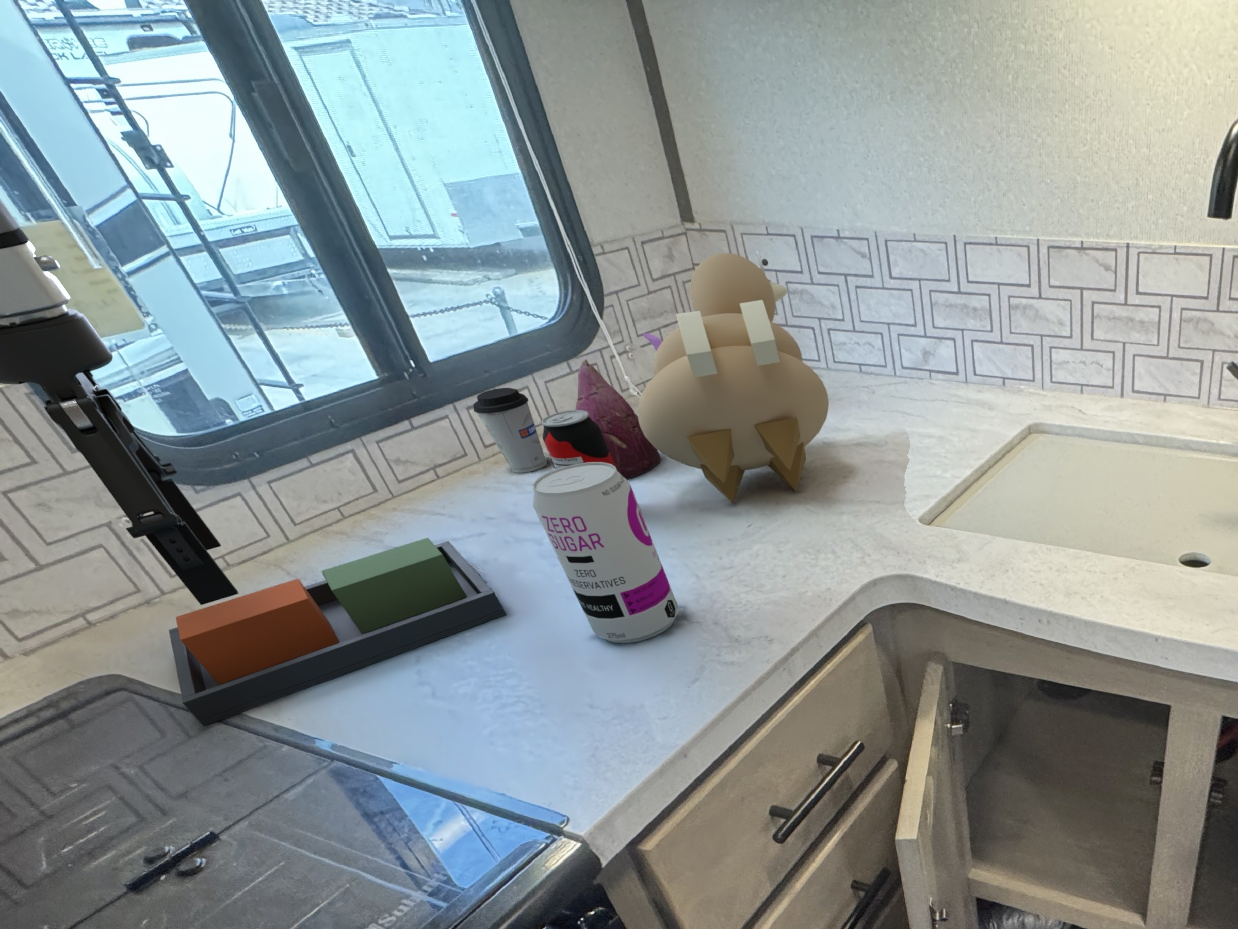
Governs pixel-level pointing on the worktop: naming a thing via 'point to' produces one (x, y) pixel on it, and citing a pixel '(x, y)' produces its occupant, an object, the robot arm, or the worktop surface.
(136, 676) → the worktop surface
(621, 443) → the vegetable
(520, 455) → the coffee cup
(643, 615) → the supplement can
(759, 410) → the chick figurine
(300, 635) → the orange block
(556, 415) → the beverage can
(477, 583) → the backing tray
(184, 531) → the robot arm
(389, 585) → the green block
